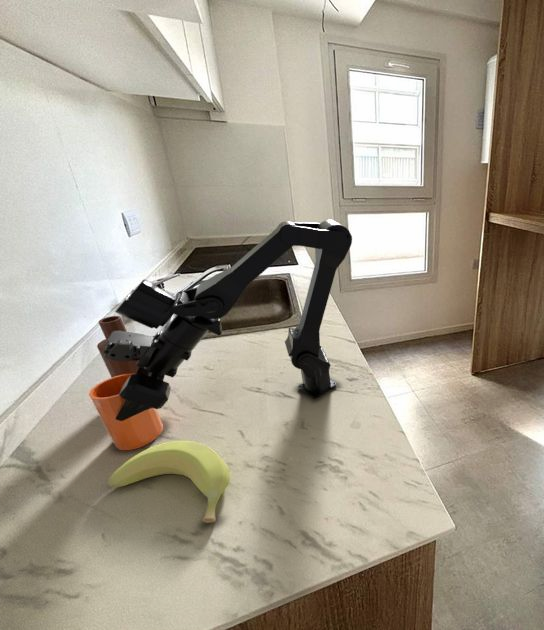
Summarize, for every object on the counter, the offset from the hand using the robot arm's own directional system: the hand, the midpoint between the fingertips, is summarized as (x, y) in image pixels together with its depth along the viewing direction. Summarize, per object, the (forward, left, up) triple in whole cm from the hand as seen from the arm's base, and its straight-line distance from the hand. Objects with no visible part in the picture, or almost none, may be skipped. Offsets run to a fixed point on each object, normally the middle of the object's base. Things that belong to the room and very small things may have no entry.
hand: (125, 403), depth 61 cm
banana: (-19, +1, -8) cm, 21 cm away
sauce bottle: (+15, -5, -8) cm, 17 cm away
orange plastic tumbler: (0, 0, -8) cm, 8 cm away
